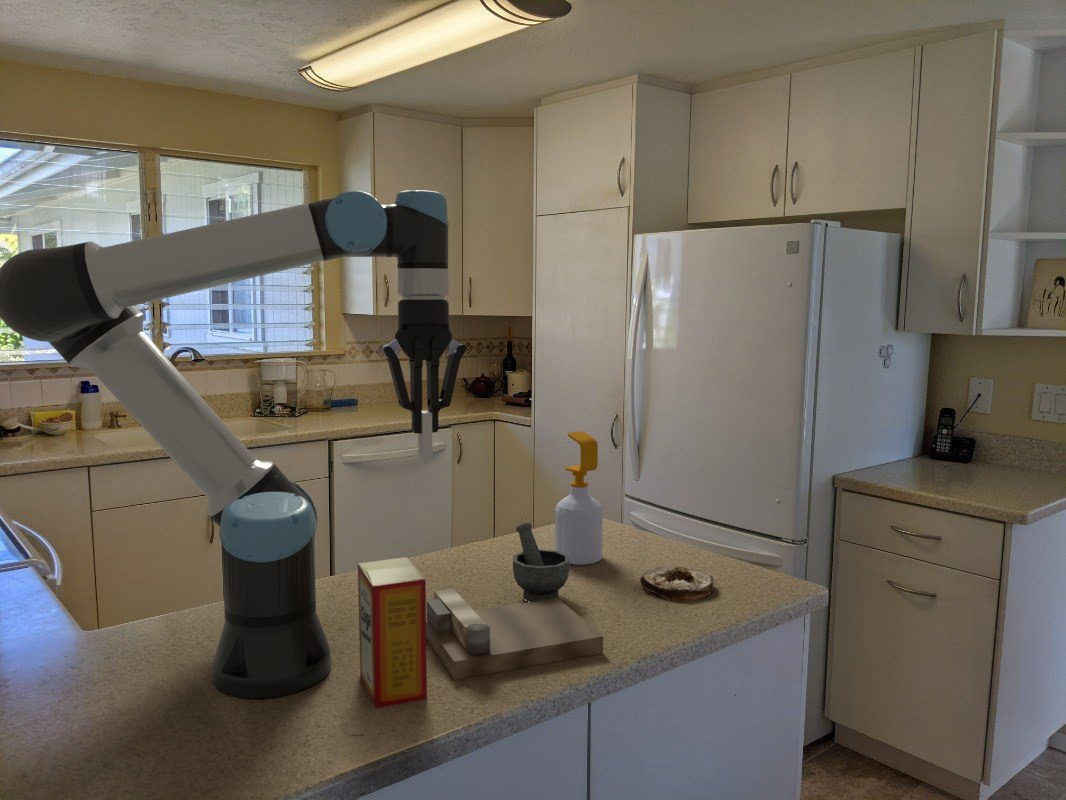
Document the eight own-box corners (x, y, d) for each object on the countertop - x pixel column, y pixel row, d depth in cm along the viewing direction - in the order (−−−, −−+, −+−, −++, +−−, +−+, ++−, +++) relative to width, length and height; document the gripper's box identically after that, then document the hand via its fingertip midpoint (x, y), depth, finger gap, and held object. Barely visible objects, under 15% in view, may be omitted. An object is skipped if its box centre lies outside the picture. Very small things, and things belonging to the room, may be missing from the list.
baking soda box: (360, 675, 111) (357, 560, 109) (408, 667, 113) (406, 554, 111) (375, 708, 102) (372, 583, 100) (427, 698, 105) (425, 576, 103)
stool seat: (454, 679, 110) (453, 639, 109) (423, 633, 125) (422, 598, 124) (603, 653, 118) (603, 616, 117) (557, 613, 133) (557, 580, 132)
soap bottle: (579, 548, 167) (580, 427, 164) (611, 559, 160) (613, 433, 157) (545, 557, 161) (546, 432, 158) (577, 569, 154) (578, 438, 151)
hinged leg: (493, 652, 112) (493, 630, 112) (470, 656, 111) (470, 634, 110) (453, 606, 128) (453, 588, 128) (433, 609, 127) (433, 591, 126)
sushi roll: (615, 586, 146) (616, 563, 146) (675, 570, 155) (676, 549, 154) (677, 612, 134) (678, 587, 134) (738, 593, 143) (739, 570, 143)
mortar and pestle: (581, 600, 138) (581, 530, 137) (535, 613, 133) (535, 540, 131) (541, 581, 147) (541, 515, 146) (496, 592, 142) (496, 524, 140)
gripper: (458, 298, 129) (459, 447, 132) (374, 298, 125) (377, 452, 128) (472, 298, 123) (473, 455, 126) (385, 298, 118) (388, 461, 121)
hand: (425, 453), depth 127 cm, fingers closed
